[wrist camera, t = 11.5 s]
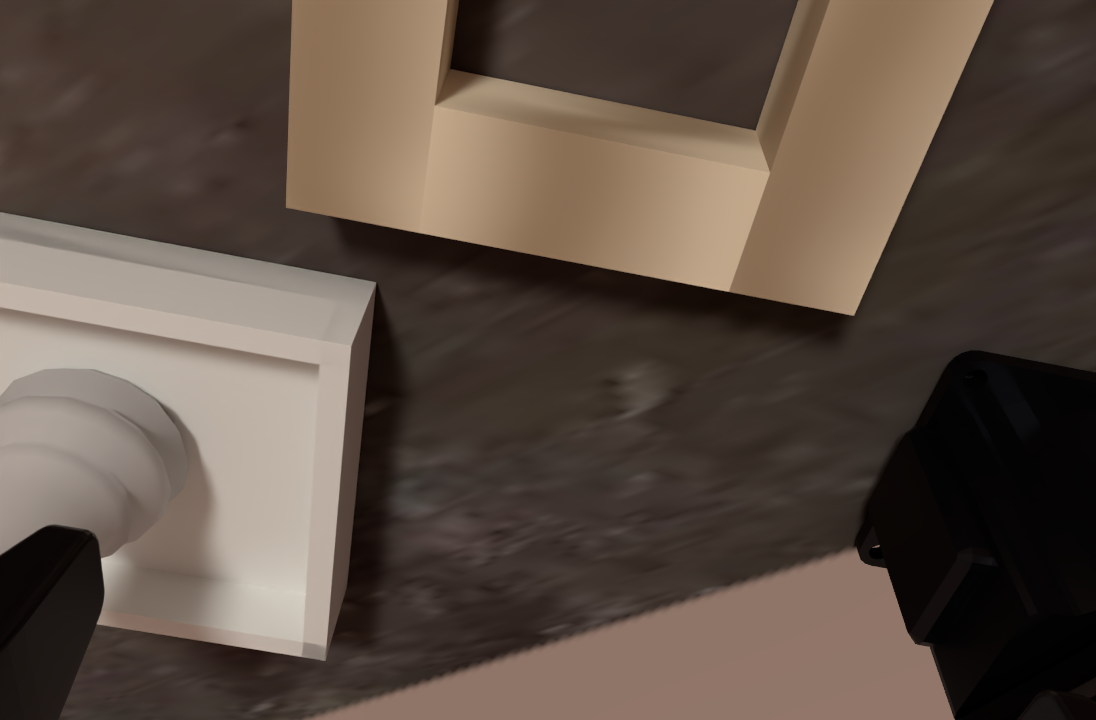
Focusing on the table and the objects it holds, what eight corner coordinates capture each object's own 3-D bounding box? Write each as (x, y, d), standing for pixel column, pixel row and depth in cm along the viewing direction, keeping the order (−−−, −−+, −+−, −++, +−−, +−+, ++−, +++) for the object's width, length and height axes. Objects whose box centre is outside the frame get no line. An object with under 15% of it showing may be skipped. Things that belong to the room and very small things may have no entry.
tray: (376, 282, 21) (351, 345, 19) (347, 586, 27) (325, 660, 24) (-189, 177, 20) (-279, 231, 18) (-94, 513, 26) (-155, 583, 24)
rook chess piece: (157, 528, 24) (-11, 838, 18) (-18, 449, 23) (-269, 750, 16) (224, 416, 22) (62, 722, 15) (34, 321, 21) (-232, 610, 14)
